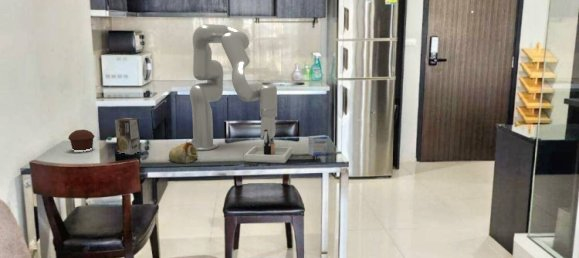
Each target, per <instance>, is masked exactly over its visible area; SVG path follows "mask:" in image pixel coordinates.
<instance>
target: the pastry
mask: <svg viewBox="0 0 579 258" xmlns="http://www.w3.org/2000/svg"><path fill="white" fill-rule="evenodd" d="M197 159H198V150H196V148H195V147H194V146H193V145H192V144H191V143H186V142H185V143H181V144H179V145H177V146H174V147H172V148H171V149H170V151H169V153H168V160H169V161H170V162H173V163H176V164H191V163H194V162H195V161H196V160H197ZM193 161H194V162H193ZM190 162H191V163H190Z"/></svg>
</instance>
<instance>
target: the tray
mask: <svg viewBox="0 0 579 258" xmlns="http://www.w3.org/2000/svg"><path fill="white" fill-rule="evenodd" d="M292 155H293V147H288V146H287V147H285V146H282V147H281V146H275V154H274V155H264V145H262V146H260V145H254V146H253V147H252V148H250V149H249V150H248V151H247V152H246V153H244V155H243V156H244V157H243V158H244V159H243V161H244V162H253V163H274V164H276V163H277V164H285V163H287V161H288V160H289V158H290V157H291V156H292Z"/></svg>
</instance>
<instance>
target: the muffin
mask: <svg viewBox="0 0 579 258" xmlns="http://www.w3.org/2000/svg"><path fill="white" fill-rule="evenodd" d="M95 137H96V136H95V134H94V133H93V132H91V131H90V130H88V129H76V130H74V131H72V132H71V133H70V134H69V135H68V138H67V139H68V141H70V146H71V149H74V150H86V149H90V148H92V149H93V148H94V146H93V145H94V139H95Z"/></svg>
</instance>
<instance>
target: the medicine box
mask: <svg viewBox="0 0 579 258" xmlns="http://www.w3.org/2000/svg"><path fill="white" fill-rule="evenodd" d="M328 142H329V137H328V136H327V135H325V134H322V135H320V134H319V135H310V136H308V155H309V156H311V157H318V156H326V155H328V154H329V153H328V149H329V148H328V144H329V143H328Z"/></svg>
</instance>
